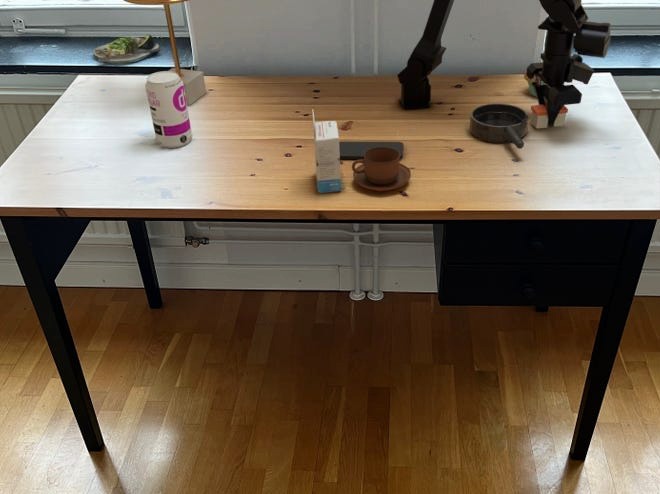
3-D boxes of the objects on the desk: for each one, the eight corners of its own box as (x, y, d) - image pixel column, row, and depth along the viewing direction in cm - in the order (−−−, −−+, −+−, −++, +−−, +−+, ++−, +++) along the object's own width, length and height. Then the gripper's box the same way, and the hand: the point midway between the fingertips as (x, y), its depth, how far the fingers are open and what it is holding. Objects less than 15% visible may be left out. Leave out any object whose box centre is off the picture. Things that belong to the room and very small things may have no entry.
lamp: (125, 107, 196) (84, -73, 169) (170, 77, 210) (138, -93, 184) (197, 118, 189) (166, -67, 163) (237, 87, 204) (215, -88, 177)
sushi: (535, 128, 178) (537, 112, 176) (529, 121, 181) (531, 105, 179) (565, 125, 179) (568, 109, 177) (559, 118, 182) (561, 102, 180)
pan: (478, 146, 174) (480, 129, 171) (462, 122, 184) (463, 106, 181) (534, 140, 175) (536, 123, 173) (515, 117, 185) (517, 101, 182)
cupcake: (556, 100, 192) (563, 51, 184) (521, 99, 193) (527, 50, 185) (556, 87, 198) (563, 39, 190) (522, 85, 199) (528, 37, 192)
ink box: (341, 192, 160) (339, 123, 150) (317, 193, 159) (313, 125, 150) (338, 172, 166) (336, 106, 156) (315, 174, 166) (311, 107, 156)
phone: (337, 141, 176) (403, 141, 174) (337, 144, 176) (403, 144, 175) (334, 156, 170) (402, 156, 169) (334, 159, 171) (402, 160, 169)
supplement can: (198, 135, 182) (188, 72, 172) (181, 151, 176) (169, 85, 166) (168, 131, 184) (156, 68, 174) (150, 146, 178) (137, 82, 169)
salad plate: (117, 73, 214) (114, 56, 211) (78, 59, 223) (74, 43, 220) (171, 52, 225) (168, 36, 222) (131, 40, 234) (128, 24, 231)
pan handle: (503, 132, 173) (504, 125, 172) (511, 132, 173) (512, 124, 172) (517, 150, 166) (517, 143, 165) (524, 149, 166) (525, 142, 165)
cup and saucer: (367, 201, 157) (367, 173, 153) (344, 175, 165) (343, 148, 161) (420, 188, 160) (421, 160, 156) (395, 164, 168) (395, 137, 164)
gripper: (610, 63, 163) (597, 133, 174) (576, 34, 177) (565, 100, 188) (560, 67, 162) (549, 138, 172) (529, 38, 176) (521, 105, 186)
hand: (547, 119), depth 180 cm, fingers closed on sushi, 4 cm apart
